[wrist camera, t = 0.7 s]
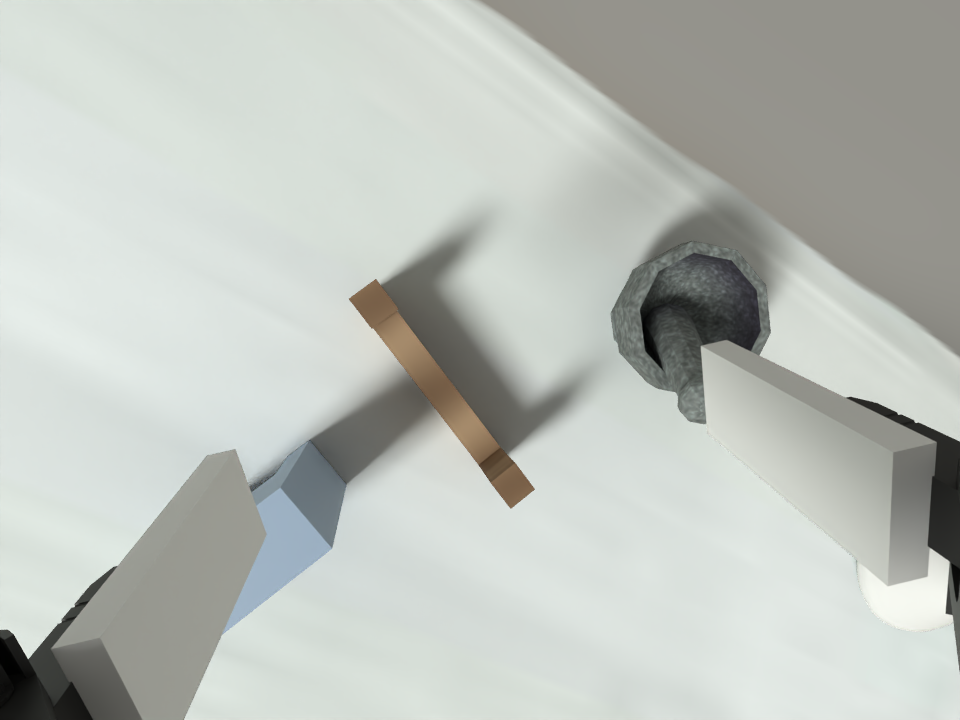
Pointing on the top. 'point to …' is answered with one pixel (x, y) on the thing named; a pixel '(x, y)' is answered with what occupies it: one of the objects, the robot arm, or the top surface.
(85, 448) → the top surface
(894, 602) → the flower in vase
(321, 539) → the slotted block
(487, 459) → the wooden drawer pull
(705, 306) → the mortar and pestle
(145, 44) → the top surface
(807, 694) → the top surface
